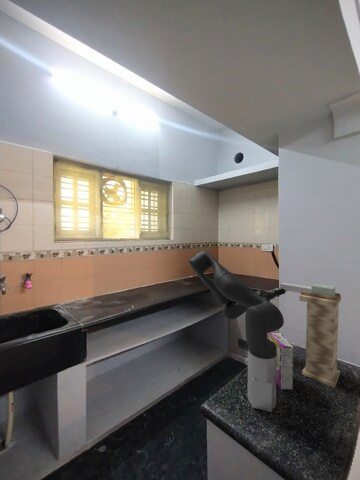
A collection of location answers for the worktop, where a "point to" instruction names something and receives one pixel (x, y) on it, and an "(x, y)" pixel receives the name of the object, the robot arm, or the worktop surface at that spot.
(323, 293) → the handle block
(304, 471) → the worktop surface
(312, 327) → the shelf stand
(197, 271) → the robot arm
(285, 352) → the candy bar box
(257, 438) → the worktop surface
